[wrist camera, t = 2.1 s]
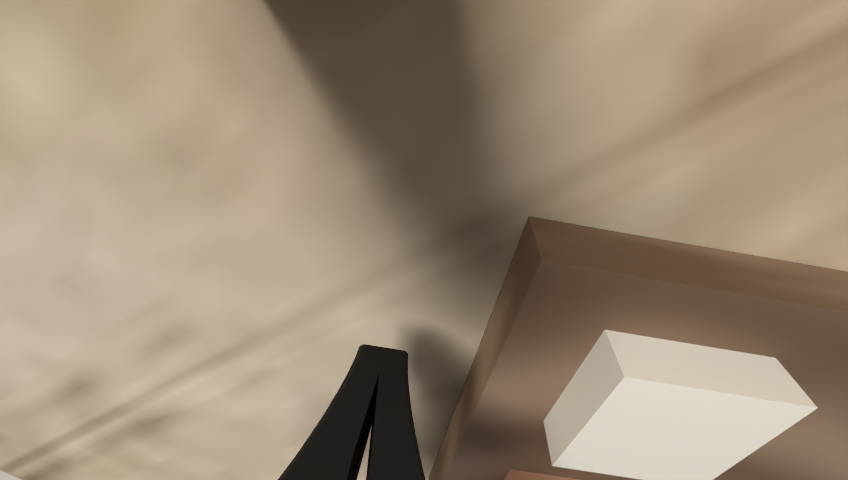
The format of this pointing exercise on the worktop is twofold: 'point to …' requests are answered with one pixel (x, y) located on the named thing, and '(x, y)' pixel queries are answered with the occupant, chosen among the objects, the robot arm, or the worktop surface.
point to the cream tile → (669, 409)
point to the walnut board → (652, 317)
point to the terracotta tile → (532, 476)
